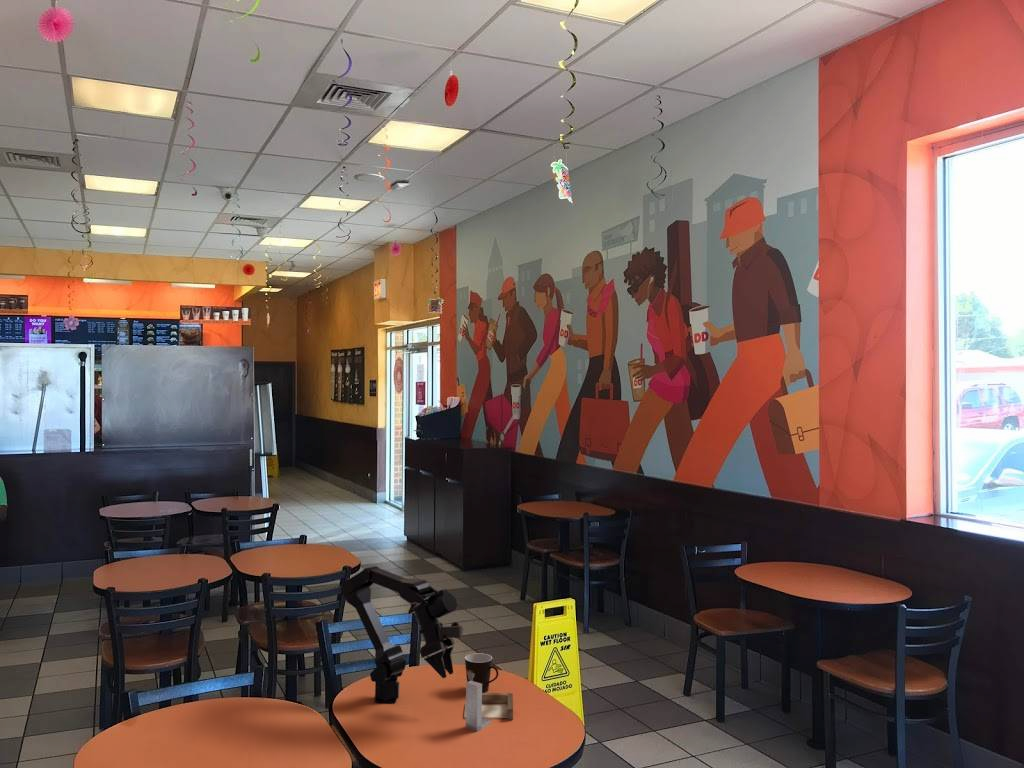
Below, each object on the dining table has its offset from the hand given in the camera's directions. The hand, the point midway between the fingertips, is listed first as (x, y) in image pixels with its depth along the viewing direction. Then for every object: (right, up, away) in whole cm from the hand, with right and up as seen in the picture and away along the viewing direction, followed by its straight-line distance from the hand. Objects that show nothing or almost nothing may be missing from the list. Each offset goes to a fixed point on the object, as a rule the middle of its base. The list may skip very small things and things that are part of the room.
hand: (448, 675), depth 228 cm
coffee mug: (+8, -12, +20) cm, 25 cm away
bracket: (+9, -12, -5) cm, 16 cm away
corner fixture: (+11, -12, +5) cm, 17 cm away
